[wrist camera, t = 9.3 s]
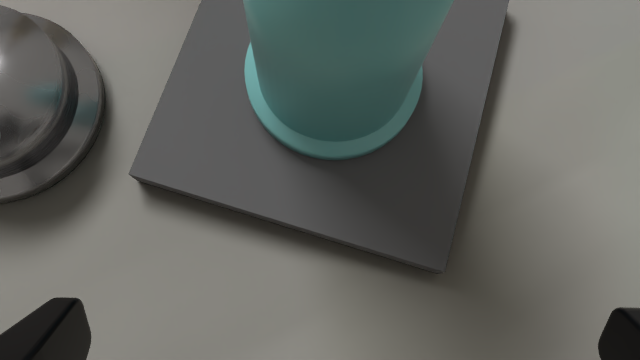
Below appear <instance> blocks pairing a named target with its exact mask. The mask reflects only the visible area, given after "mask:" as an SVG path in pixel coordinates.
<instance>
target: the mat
mask: <svg viewBox="0 0 640 360" xmlns="http://www.w3.org/2000/svg"><path fill="white" fill-rule="evenodd" d="M508 3H509V0H454V1H453V3H452V5H451V7H450V9H449V11H448V13H447V16H446V18H445V20H444V22H443V24H442V26H441V28H440V30H439V32H438V34H437V36H436V38H435V40H434V42H433V44H432V46H431V48H430V50H429V52H428V54H427V56H426V58H425V60H424V62H423V64H422V70H423V81H422V89H421V93H420V96H419V100H418V102H417V105H416V107H415V109H414V111H413V113H412V115H411V116H410V118H409V120H408V121H407V123H406V124H405V126H404V127H403V129H402V130H401V131H400V132H399V133H398V135H396V136H395V137H394V138H393V139H392V140H391V141H390V142H388V143H387V144H386V145H384V146H383V147H381V148H379V149H378V150H376V151H374V152H372V153H369V154H366V155H364V156H361V157H357V158H352V159H347V160H323V159H317V158H312V157H309V156H305V155H302V154H300V153H297V152H295V151H293V150H291V149H289V148H287V147H286V146H284V145H283V144H281V143H280V142H279V141H277V140H276V139H275V138H274V137H272V136H271V135H270V134H269V132H268V131H267V130H266V129H265V128H264V127H263V126H262V124H261V123H260V121H259V120H258V118H257V116H256V115H255V113H254V111H253V109H252V106H251V103H250V100H249V96H248V92H247V88H246V83H245V72H244V69H245V59H246V54H247V50H248V47H249V44H250V42H251V40H250V35H249V29H248V24H247V19H246V14H245V8H244V3H243V0H202V1H201V3H200V5H199V8H198V10H197V13H196V15H195V17H194V20H193V22H192V24H191V27H190V29H189V32H188V34H187V36H186V39H185V41H184V43H183V46H182V48H181V51H180V53H179V55H178V58H177V60H176V62H175V65H174V67H173V70H172V72H171V74H170V77H169V79H168V81H167V84H166V86H165V89H164V91H163V93H162V96H161V98H160V101H159V103H158V105H157V108H156V110H155V112H154V115H153V117H152V120H151V122H150V124H149V127H148V129H147V131H146V134H145V136H144V139H143V141H142V143H141V146H140V148H139V150H138V153H137V155H136V158H135V160H134V162H133V165H132V167H131V169H130V172H129V175H130V176H132V177H133V178H134V179H136V180H137V181H140V182H144V183H147V184H150V185H153V186H156V187H160V188H163V189H166V190H169V191H173V192H176V193H179V194H182V195H186V196H189V197H192V198H195V199H198V200H202V201H205V202H208V203H211V204H215V205H218V206H221V207H224V208H228V209H231V210H234V211H237V212H240V213H244V214H247V215H250V216H253V217H257V218H260V219H263V220H266V221H269V222H273V223H276V224H279V225H282V226H286V227H289V228H292V229H295V230H299V231H302V232H305V233H308V234H311V235H315V236H318V237H321V238H324V239H328V240H331V241H334V242H337V243H341V244H344V245H347V246H350V247H353V248H357V249H360V250H363V251H366V252H370V253H373V254H376V255H379V256H383V257H386V258H389V259H392V260H395V261H399V262H402V263H405V264H408V265H412V266H415V267H418V268H421V269H425V270H428V271H431V272H434V273H437V274H438V273H443V272H445V269H446V265H447V261H448V257H449V252H450V248H451V244H452V240H453V236H454V231H455V227H456V223H457V219H458V214H459V210H460V206H461V202H462V198H463V193H464V189H465V185H466V181H467V176H468V172H469V168H470V164H471V159H472V155H473V151H474V147H475V143H476V138H477V134H478V130H479V126H480V121H481V117H482V113H483V109H484V104H485V100H486V96H487V92H488V88H489V83H490V79H491V75H492V71H493V66H494V62H495V58H496V54H497V49H498V45H499V41H500V37H501V33H502V28H503V24H504V20H505V16H506V11H507V7H508Z"/></svg>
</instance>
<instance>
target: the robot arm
mask: <svg viewBox="0 0 640 360" xmlns="http://www.w3.org/2000/svg"><path fill="white" fill-rule="evenodd" d="M90 344H91V331H90V327H89V324H88V320H87V317H86V313H85V310H84V306H83V303H82V301H81V300H80V299H78V298H53V299H51V300H49V301H48V302H46V303H45V304H43V305H42V306H41V307H39V308H38V309H36V310H35V311H33V312H32V313H31V314H29V315H28V316H26V317H25V318H23V319H22V320H21V321H19V322H18V323H16V324H15V325H13V326H12V327H11V328H9V329H8V330H6V331H5V332H4V333H2V334H1V335H0V360H86V358H87V355H88V352H89V348H90ZM598 350H599V355H600V358H601V360H640V308H623V307H620V308H616V309H615V310H613V311H612V313H611V315H610V317H609V319H608V321H607V323H606V326H605V328H604V330H603V332H602V334H601V336H600V339H599V343H598Z"/></svg>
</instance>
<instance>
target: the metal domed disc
mask: <svg viewBox="0 0 640 360" xmlns="http://www.w3.org/2000/svg"><path fill="white" fill-rule="evenodd" d="M104 108H105V91H104V85H103V81H102V77H101V74H100V72H99V69H98V67H97V65H96V63H95V62H94V60H93V58H92V57H91V56H90V54H89V53H88V52H87V51H86V49H85V48H84V47H83V46H82V45H81V43H80V42H79V41H78V40H77V39H76V38H75V37H74V36H73V35H72V34H71V33H69V32H68V31H67V30H65V29H64V28H63V27H61V26H59V25H58V24H56V23H54V22H52V21H50V20H47V19H44V18H42V17H39V16H35V15H31V14H26V13H20V12H18V11H16V10H13V9H11V8H8V7H5V6H1V5H0V203H4V202H11V201H16V200H20V199H24V198H27V197H30V196H32V195H35V194H37V193H40V192H42V191H44V190H46V189H48V188H49V187H51V186H53V185H54V184H56V183H57V182H59V181H60V180H62V179H63V178H65V177H66V176H67V175H68V174H69V173H70V172H71V171H72V170H74V169H75V168H76V166H77V165H78V164H79V163H80V162H81V161H82V160H83V159H84V157H85V156H86V154H87V153H88V151H89V150H90V149H91V147H92V145H93V143H94V141H95V139H96V138H97V135H98V133H99V130H100V127H101V125H102V120H103V116H104Z"/></svg>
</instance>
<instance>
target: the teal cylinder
mask: <svg viewBox="0 0 640 360" xmlns="http://www.w3.org/2000/svg"><path fill="white" fill-rule="evenodd" d="M453 1H454V0H243V3H244V8H245V14H246V19H247V24H248V29H249V35H250V40H251V42H250V44H249V47H248V50H247V54H246V59H245V69H244V72H245V83H246V88H247V92H248V96H249V100H250V103H251V106H252V109H253V111H254V113H255V115H256V116H257V118H258V120H259V121H260V123H261V124H262V126H263V127H264V128H265V129H266V130H267V131H268V132H269V134H270V135H271V136H272V137H274V138H275V139H276V140H277V141H279V142H280V143H281V144H283V145H284V146H286V147H287V148H289V149H291V150H293V151H295V152H297V153H300V154H302V155H305V156H309V157H312V158H317V159H323V160H347V159H352V158H357V157H361V156H364V155H366V154H369V153H372V152H374V151H376V150H378V149H379V148H381V147H383V146H384V145H386V144H387V143H388V142H390V141H391V140H392V139H393V138H394V137H395V136H396V135H398V133H399V132H400V131H401V130H402V129H403V127H404V126H405V124H406V123H407V121H408V120H409V118H410V116H411V115H412V113H413V111H414V109H415V107H416V105H417V102H418V100H419V96H420V93H421V89H422V81H423V70H422V64H423V62H424V60H425V58H426V56H427V54H428V52H429V50H430V48H431V46H432V44H433V42H434V40H435V38H436V36H437V34H438V32H439V30H440V28H441V26H442V24H443V22H444V20H445V18H446V16H447V13H448V11H449V9H450V7H451V5H452V3H453Z"/></svg>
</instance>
